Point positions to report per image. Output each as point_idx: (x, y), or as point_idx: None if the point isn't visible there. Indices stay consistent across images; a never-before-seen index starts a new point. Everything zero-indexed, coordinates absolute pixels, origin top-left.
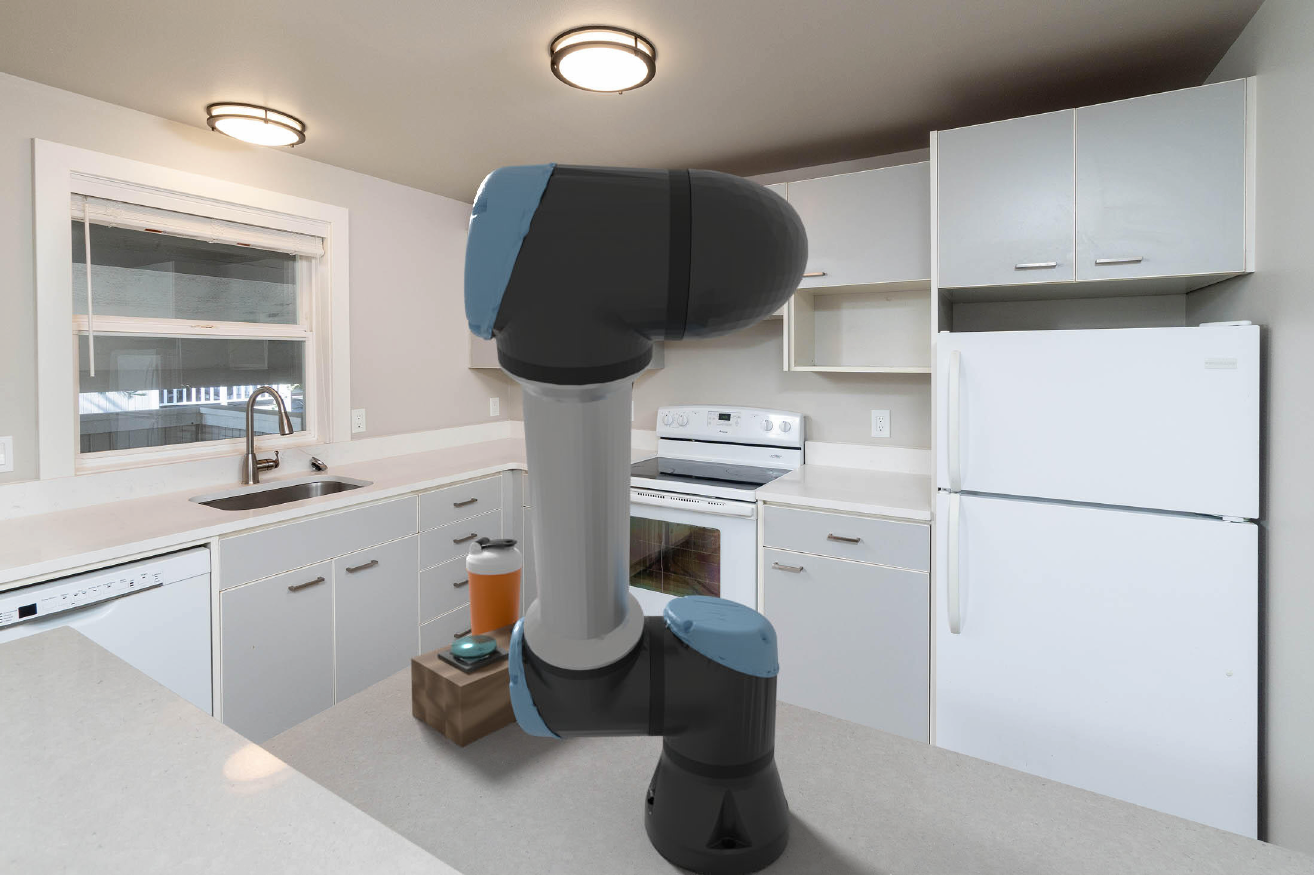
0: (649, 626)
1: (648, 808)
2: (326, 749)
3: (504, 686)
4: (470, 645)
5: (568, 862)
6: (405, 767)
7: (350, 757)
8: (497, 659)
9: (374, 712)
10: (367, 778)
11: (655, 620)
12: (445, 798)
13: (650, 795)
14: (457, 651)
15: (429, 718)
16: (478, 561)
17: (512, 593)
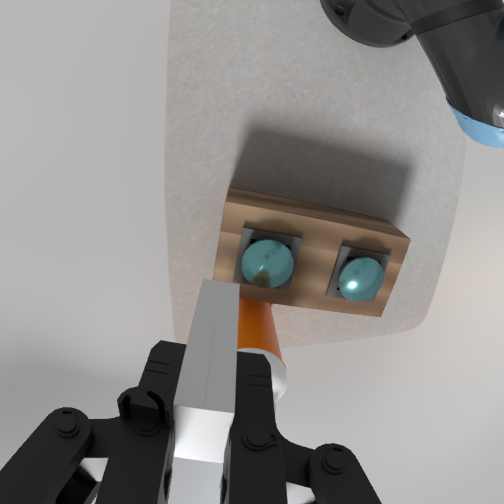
0: (501, 7)
1: (411, 36)
2: (417, 298)
3: (361, 223)
4: (367, 280)
5: None
6: (419, 237)
7: (420, 277)
8: (357, 248)
9: None
10: (434, 248)
11: (492, 2)
12: (434, 186)
13: (399, 39)
14: (383, 280)
15: None
16: (285, 383)
17: (250, 330)
